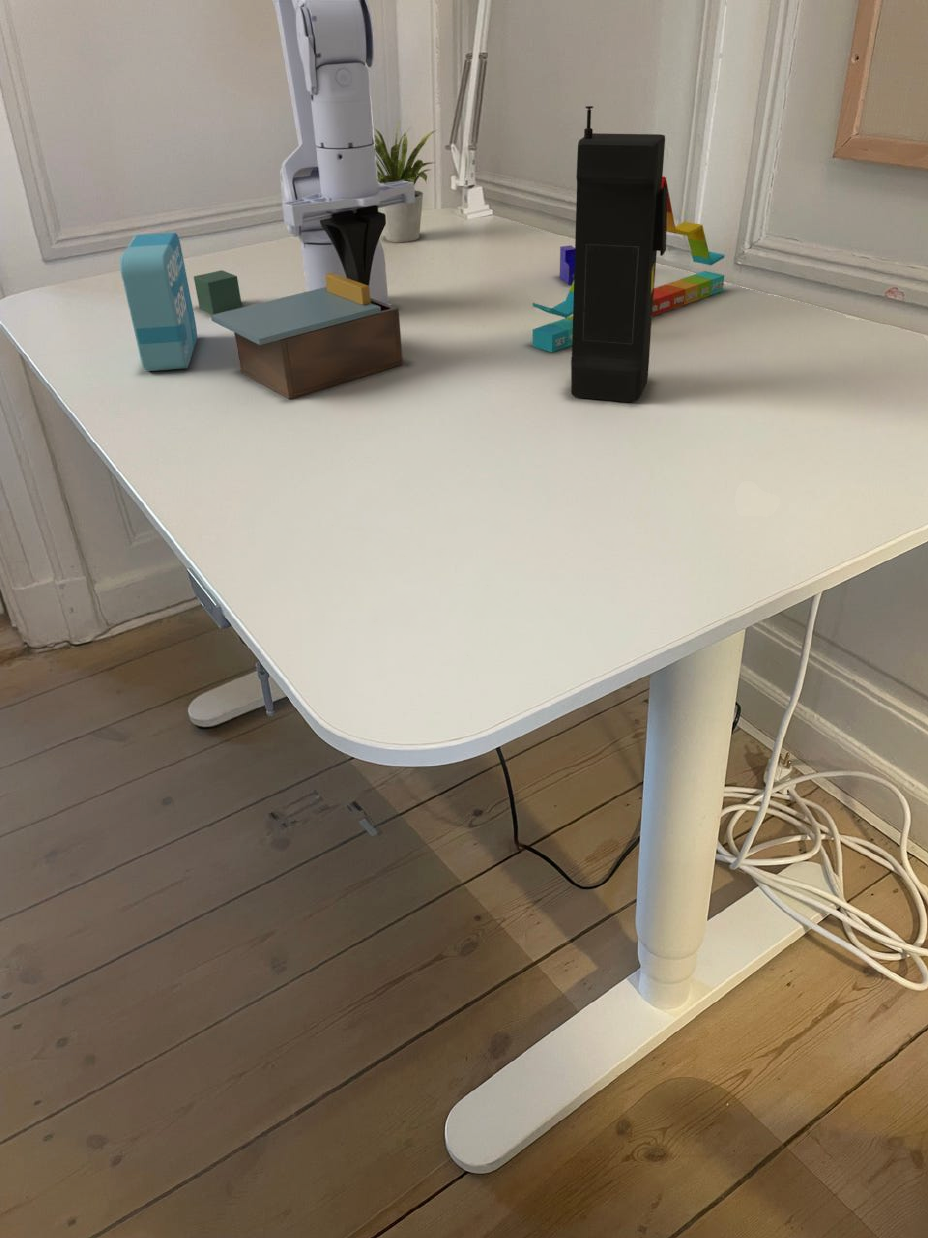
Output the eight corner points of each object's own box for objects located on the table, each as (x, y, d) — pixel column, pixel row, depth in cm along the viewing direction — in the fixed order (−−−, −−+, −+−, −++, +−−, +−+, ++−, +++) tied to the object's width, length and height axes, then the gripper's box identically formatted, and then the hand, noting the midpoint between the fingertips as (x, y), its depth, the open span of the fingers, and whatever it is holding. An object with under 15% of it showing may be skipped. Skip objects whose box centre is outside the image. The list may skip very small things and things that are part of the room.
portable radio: (658, 382, 96) (682, 100, 82) (647, 404, 92) (670, 110, 78) (581, 375, 99) (591, 100, 84) (567, 397, 94) (575, 109, 80)
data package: (187, 372, 103) (163, 257, 96) (144, 375, 103) (117, 259, 96) (198, 336, 113) (177, 229, 106) (159, 339, 113) (136, 231, 106)
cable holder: (568, 284, 125) (569, 252, 123) (559, 277, 128) (560, 246, 125) (626, 278, 126) (628, 246, 124) (616, 271, 129) (617, 240, 127)
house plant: (337, 250, 144) (324, 128, 134) (360, 227, 155) (349, 113, 146) (430, 250, 142) (424, 127, 132) (447, 227, 153) (442, 112, 143)
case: (350, 341, 110) (345, 288, 106) (403, 364, 103) (398, 308, 100) (240, 372, 103) (231, 316, 99) (289, 399, 96) (280, 340, 93)
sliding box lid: (328, 291, 105) (325, 269, 104) (381, 312, 99) (379, 288, 97) (211, 320, 98) (207, 296, 97) (260, 345, 92) (256, 319, 90)
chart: (553, 352, 104) (555, 205, 96) (532, 346, 106) (533, 201, 98) (724, 291, 120) (739, 160, 112) (703, 286, 122) (716, 157, 114)
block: (227, 301, 124) (222, 269, 122) (242, 308, 122) (237, 275, 119) (199, 308, 122) (193, 276, 120) (213, 315, 120) (207, 282, 117)
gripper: (302, 159, 87) (320, 309, 95) (429, 138, 95) (436, 279, 102) (264, 150, 92) (284, 294, 100) (388, 131, 99) (398, 266, 107)
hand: (359, 286), depth 101 cm, fingers closed
